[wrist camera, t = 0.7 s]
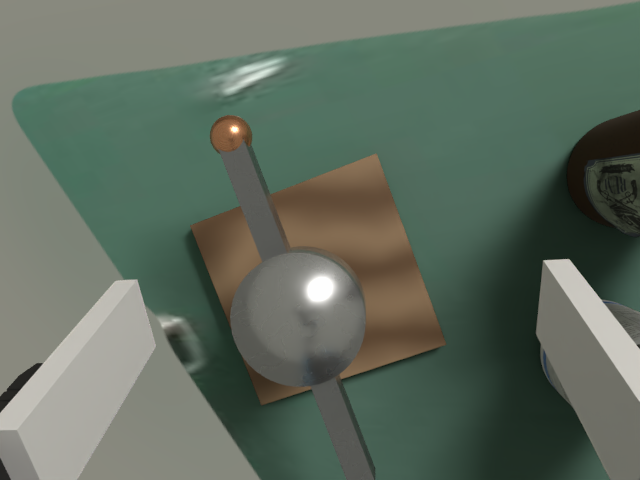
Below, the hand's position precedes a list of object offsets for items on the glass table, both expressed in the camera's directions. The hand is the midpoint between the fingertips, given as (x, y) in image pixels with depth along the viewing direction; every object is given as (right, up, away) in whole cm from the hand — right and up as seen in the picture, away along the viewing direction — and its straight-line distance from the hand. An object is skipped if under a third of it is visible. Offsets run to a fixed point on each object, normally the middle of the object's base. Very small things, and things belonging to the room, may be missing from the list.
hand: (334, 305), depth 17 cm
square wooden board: (-1, -2, +31) cm, 31 cm away
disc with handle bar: (-2, -2, +21) cm, 21 cm away
